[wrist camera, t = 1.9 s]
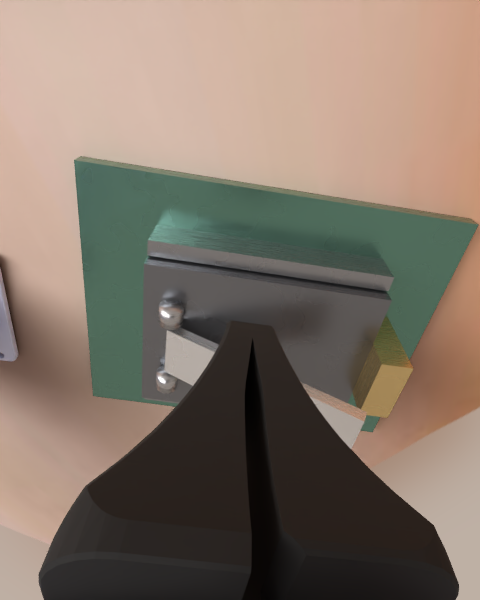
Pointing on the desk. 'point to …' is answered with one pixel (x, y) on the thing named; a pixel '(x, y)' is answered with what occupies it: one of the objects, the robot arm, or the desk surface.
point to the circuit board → (256, 279)
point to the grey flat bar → (340, 415)
